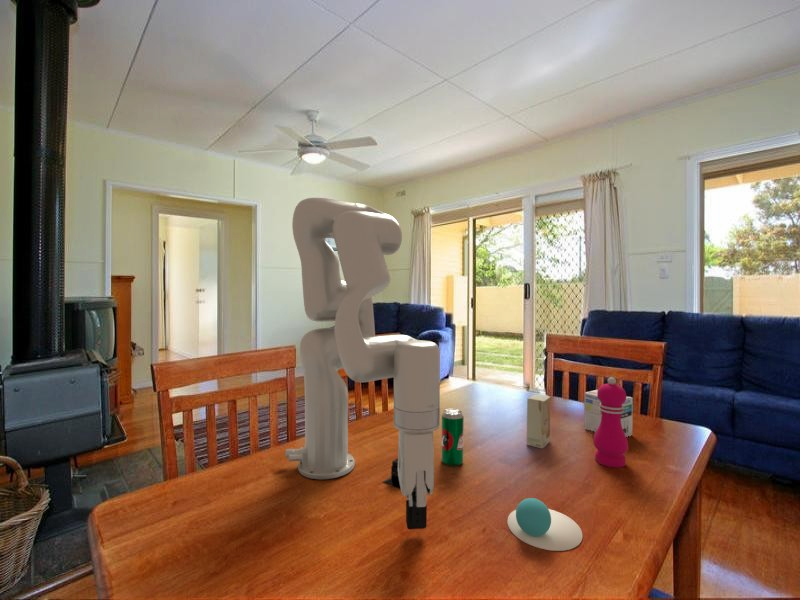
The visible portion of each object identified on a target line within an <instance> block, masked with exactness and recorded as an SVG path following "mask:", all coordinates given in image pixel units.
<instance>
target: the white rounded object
mask: <svg viewBox="0 0 800 600" xmlns="http://www.w3.org/2000/svg"><path fill="white" fill-rule="evenodd" d="M548 510H549V512H550V515H551V525H550V528H549V530H548V531H547V532H546V533H545V534H543V535H541V536H531V535H529V534H527V533H525V532H524V531H523V530H522V529H521V528H520V526H519V525H518V523H517V520H516V509H514V510H513V511H511V512H510V513H509V515H508V517H507V521H506V522H507V526H508V530H510V532H511V533H512V534H513V535H514V536H515V537H516V538H517V539H519V541H521V542H523V543H525V544H527V545H530V546H531V547H534V548H537V549H541V550H545V551H553V552H564V551H570V550H572V549H574V548H577V547H578V546H579V545H581V543H582V541H583V532H582V528H580V526H579V525H578V523H576V522H575V521H574V520H573V519H572V518H570V517H569V516H567V515H566V514H564V513H561V512H559V511H557V510H553V509H551V508H548Z"/></svg>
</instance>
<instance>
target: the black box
mask: <svg viewBox="0 0 800 600" xmlns="http://www.w3.org/2000/svg"><path fill="white" fill-rule="evenodd" d="M390 470H391V472H390V473H391V476H389V477H388V478H387V479H385V480H384V481H382V484H384V485H388V486H390V487H394V488H397V489H399V490H401V488H400V483H399V477H398V457H397V458H395V459H394V460H392V463H391V469H390Z"/></svg>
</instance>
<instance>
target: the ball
mask: <svg viewBox="0 0 800 600" xmlns="http://www.w3.org/2000/svg"><path fill="white" fill-rule="evenodd" d="M548 509H549V507H548V506H547V505H546V504H545V503H544V502H543V501H542V500H540V499H538V498H535V497H529V498H524V499H522V500H521V501H520V502H519V503H518V505H517V506H516V509H515V510H516V520H517V523H518V525H519V526H520V528H521V529H522V530H523V531H524V532H525V533H527V534H529V535H531V536H541V535H543V534H545V533H546V532H547V531H548V530H549V528H550V525H551V515H550V512H549V510H548Z"/></svg>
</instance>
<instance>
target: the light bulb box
mask: <svg viewBox="0 0 800 600" xmlns="http://www.w3.org/2000/svg"><path fill="white" fill-rule="evenodd" d="M597 391H598V389H595V390H590V391H586V392H584V396H583V397H584V398H583V399H584V405H583V406H584V407H583V408H584V409H583V410H584V412H583V413H584V414H583V429H584V428H585V429H584V430H587V429H588V430H587V431H590V430H591V432H593V431H594V433H596V431H597V429H598V427H599V425H600V423H601V416H602V415H601V410H600V409H599V407H600V405H599V404H600V403H601V401H600V400H599V399H598V396H597ZM633 402H634V398H633V397H631V396H627V395H626V401H625V402H624V403H623V404H622V406H623V407H624V408H623V411H624V412H623V413H621V425H622V428H623V431H624V433H625V436H626V437H627V438H628V436H629V437H631V435H632V436H633V413H634V412H633V408H634V407H633V405H634V403H633Z"/></svg>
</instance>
